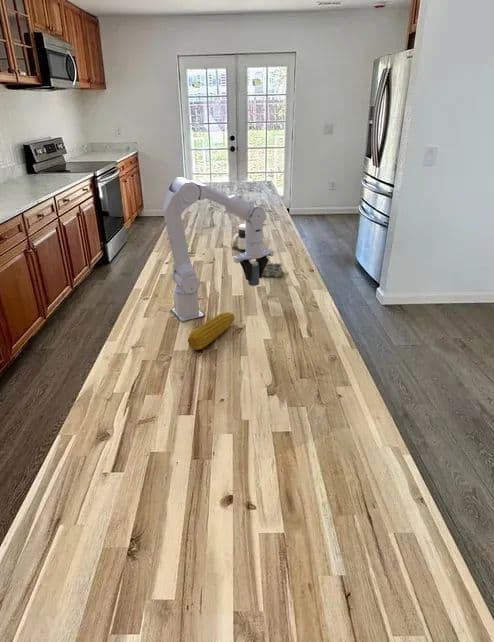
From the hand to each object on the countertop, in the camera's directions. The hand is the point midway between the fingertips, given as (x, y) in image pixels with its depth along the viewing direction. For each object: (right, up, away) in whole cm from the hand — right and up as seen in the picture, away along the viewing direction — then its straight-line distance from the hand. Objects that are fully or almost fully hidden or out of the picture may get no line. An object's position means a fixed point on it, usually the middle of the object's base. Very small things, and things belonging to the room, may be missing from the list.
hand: (253, 278), depth 151 cm
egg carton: (+7, +3, +26) cm, 27 cm away
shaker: (0, -2, +1) cm, 2 cm away
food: (-14, -19, -19) cm, 30 cm away
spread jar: (-2, +16, +54) cm, 56 cm away
